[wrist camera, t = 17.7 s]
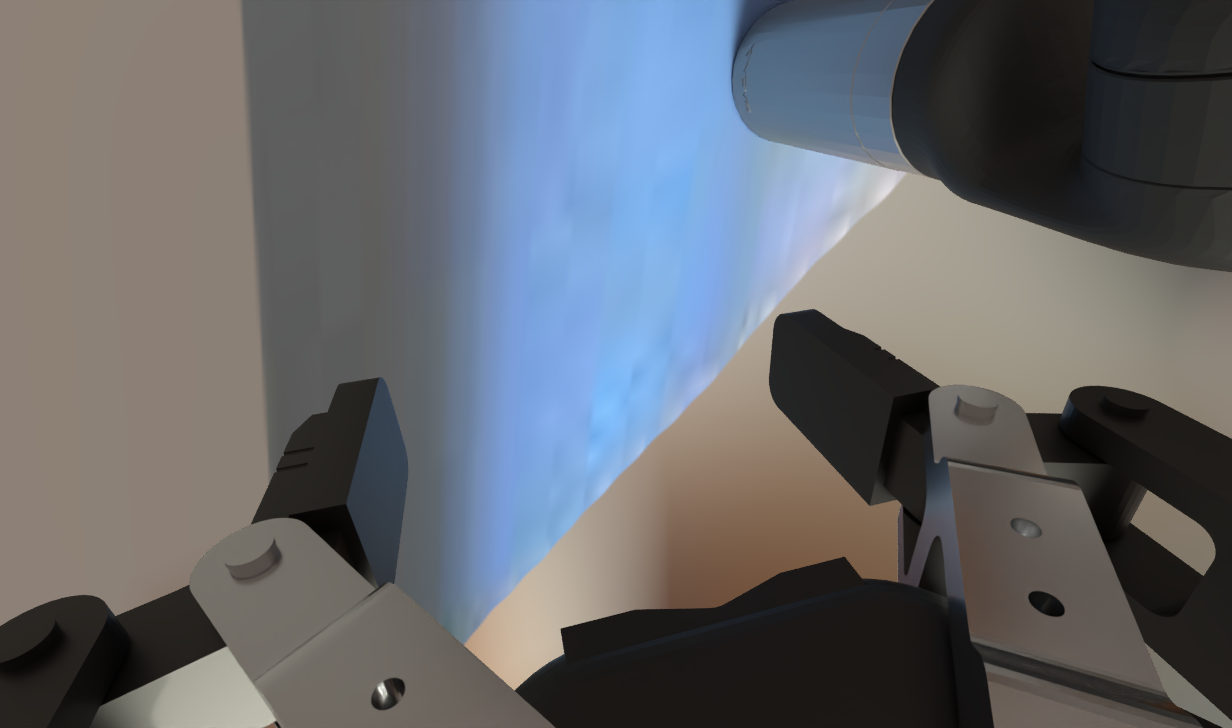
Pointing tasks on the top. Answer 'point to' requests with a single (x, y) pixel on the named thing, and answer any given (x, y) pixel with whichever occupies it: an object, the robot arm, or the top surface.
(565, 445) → the top surface
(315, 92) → the top surface
